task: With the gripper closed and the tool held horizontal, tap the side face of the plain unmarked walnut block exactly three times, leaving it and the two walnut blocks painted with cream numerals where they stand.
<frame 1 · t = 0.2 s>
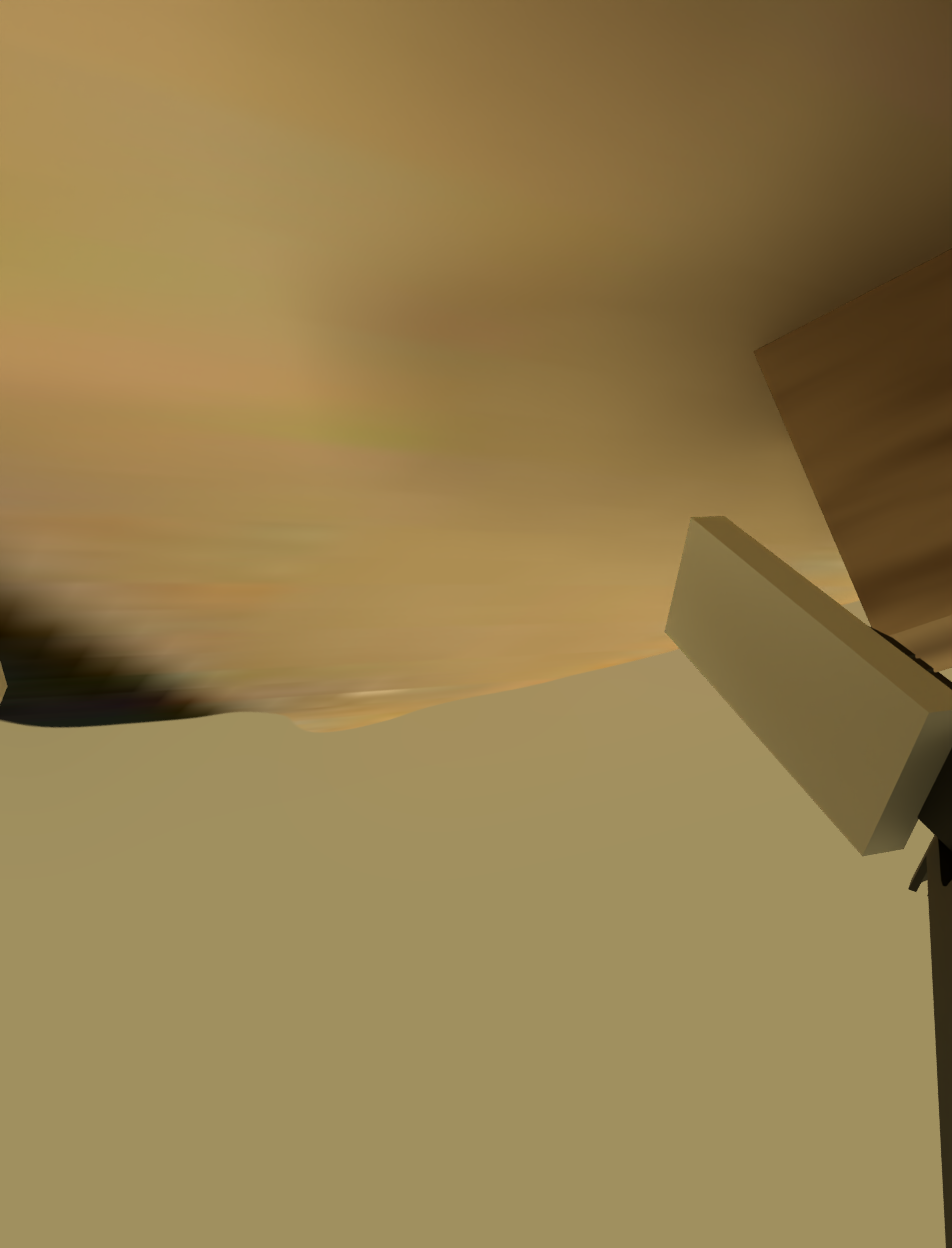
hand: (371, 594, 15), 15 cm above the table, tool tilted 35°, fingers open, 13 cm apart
plain block: (871, 353, 36), on the table
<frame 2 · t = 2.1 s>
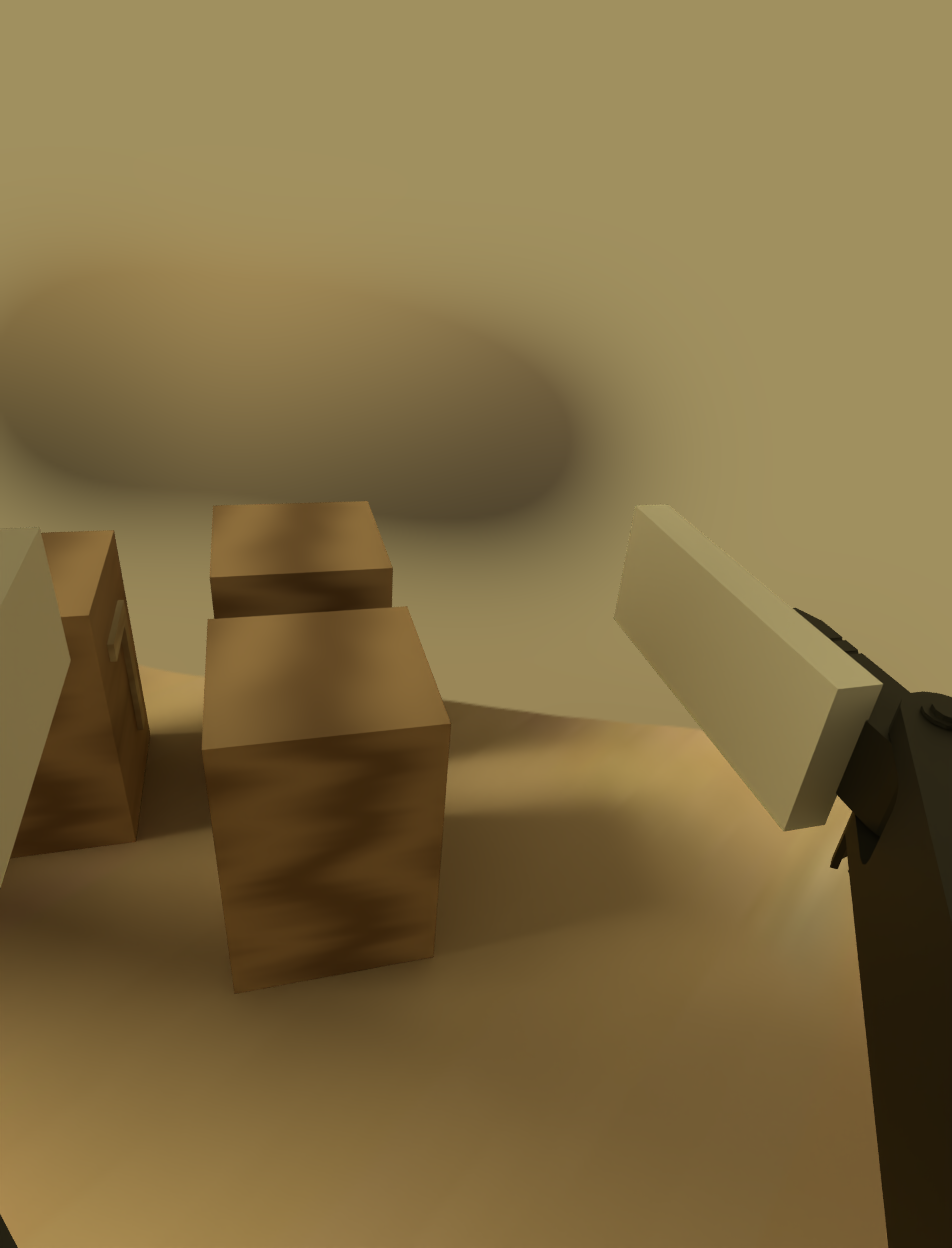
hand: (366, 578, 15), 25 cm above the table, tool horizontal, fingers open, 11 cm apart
block one: (306, 734, 50), on the table
plain block: (327, 896, 39), on the table
block seven: (57, 793, 44), on the table
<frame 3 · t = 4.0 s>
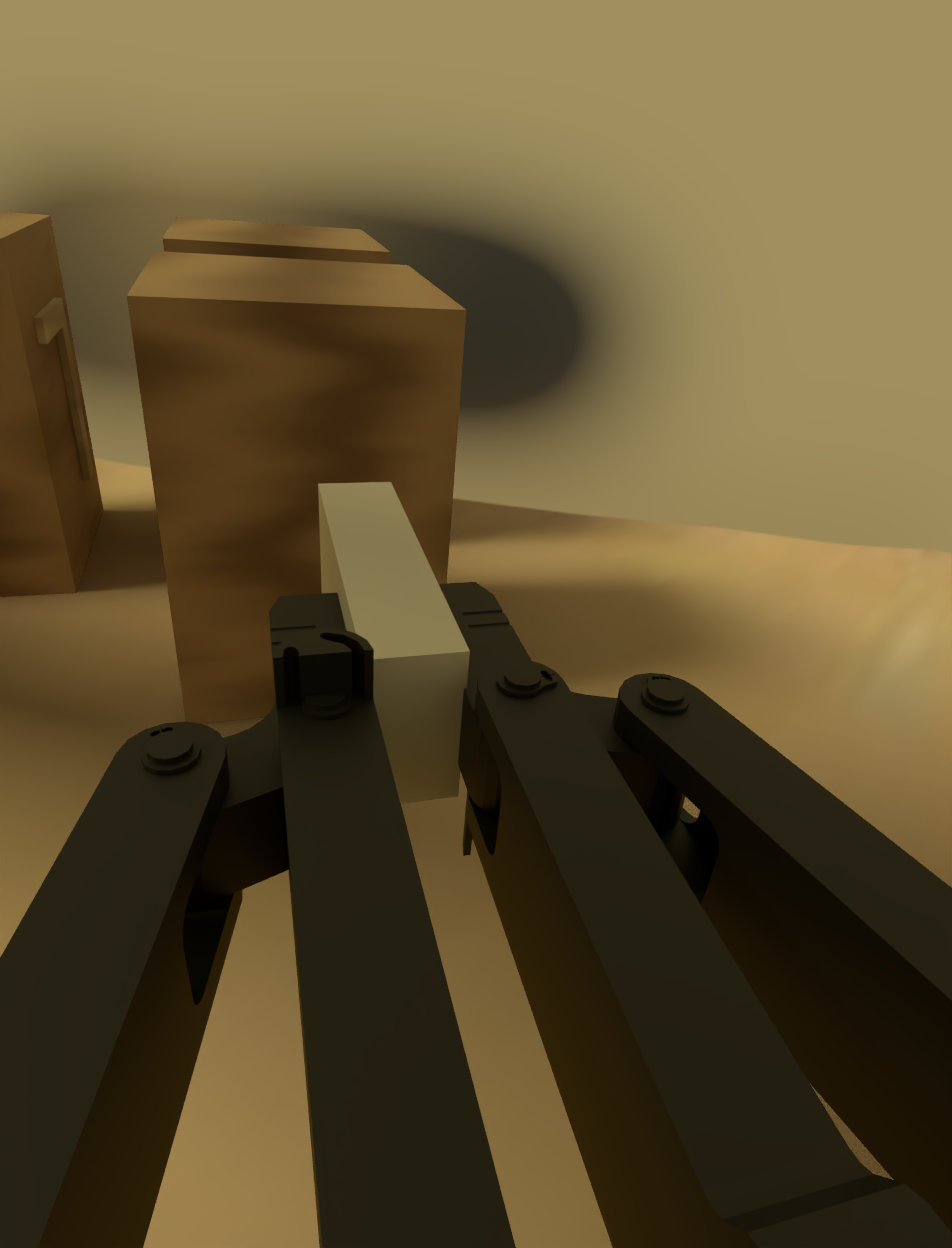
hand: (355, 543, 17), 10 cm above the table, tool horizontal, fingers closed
block one: (288, 517, 43), on the table
plain block: (307, 645, 32), on the table
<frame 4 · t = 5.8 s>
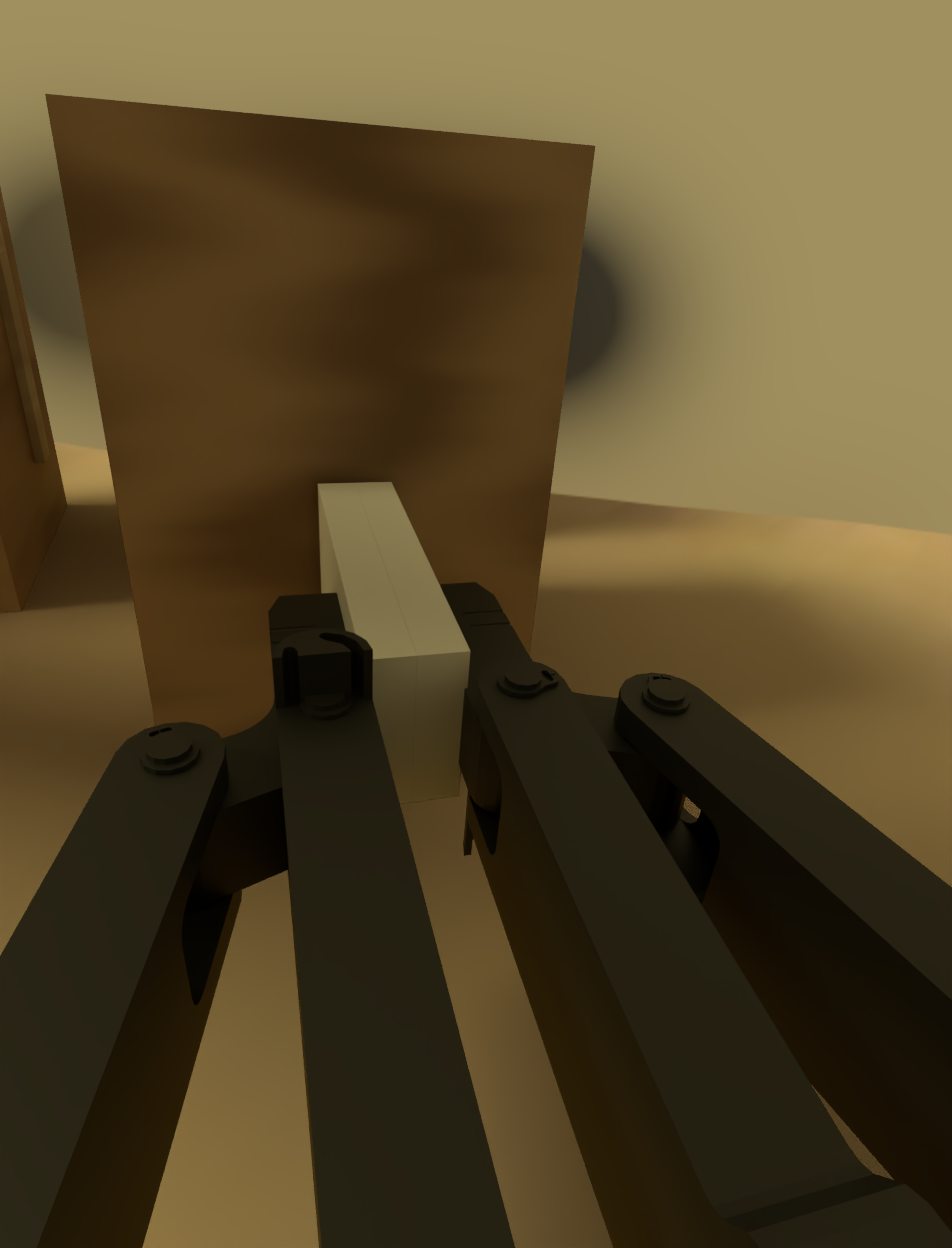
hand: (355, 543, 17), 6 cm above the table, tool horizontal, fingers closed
plain block: (332, 668, 24), on the table, touching gripper
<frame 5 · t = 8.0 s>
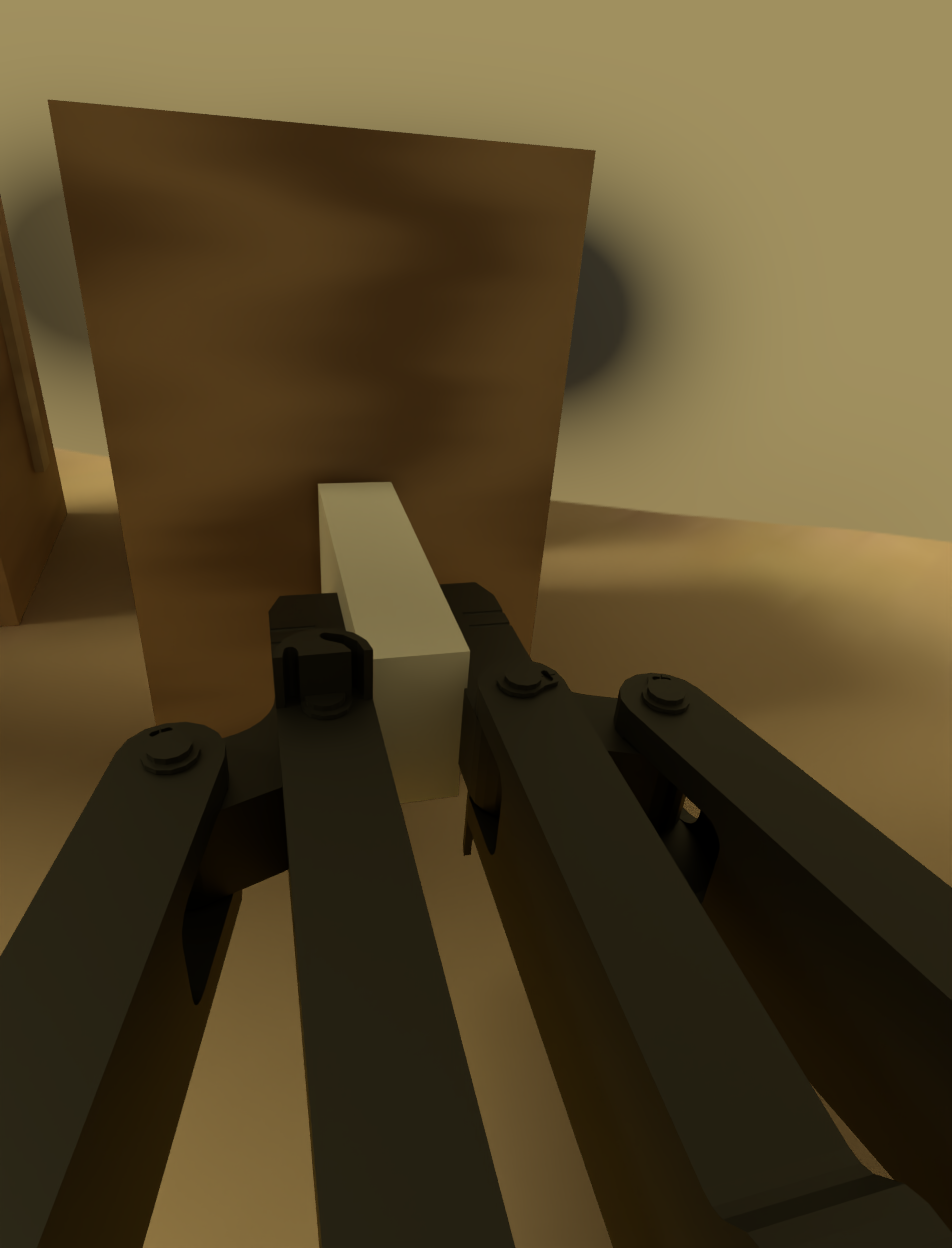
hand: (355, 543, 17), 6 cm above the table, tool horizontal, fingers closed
plain block: (333, 670, 24), on the table, touching gripper
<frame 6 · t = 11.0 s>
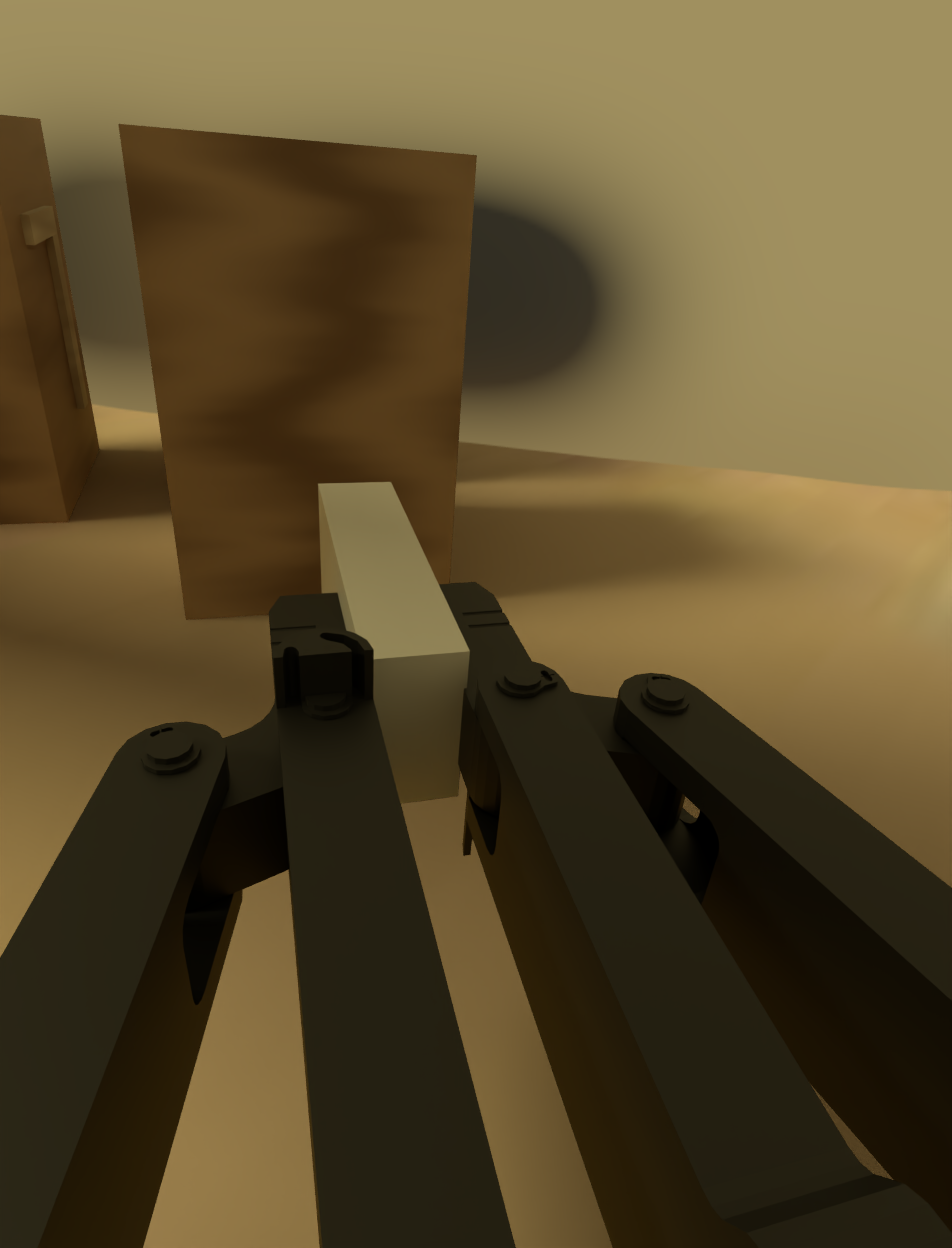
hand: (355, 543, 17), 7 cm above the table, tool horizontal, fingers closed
plain block: (312, 554, 31), on the table
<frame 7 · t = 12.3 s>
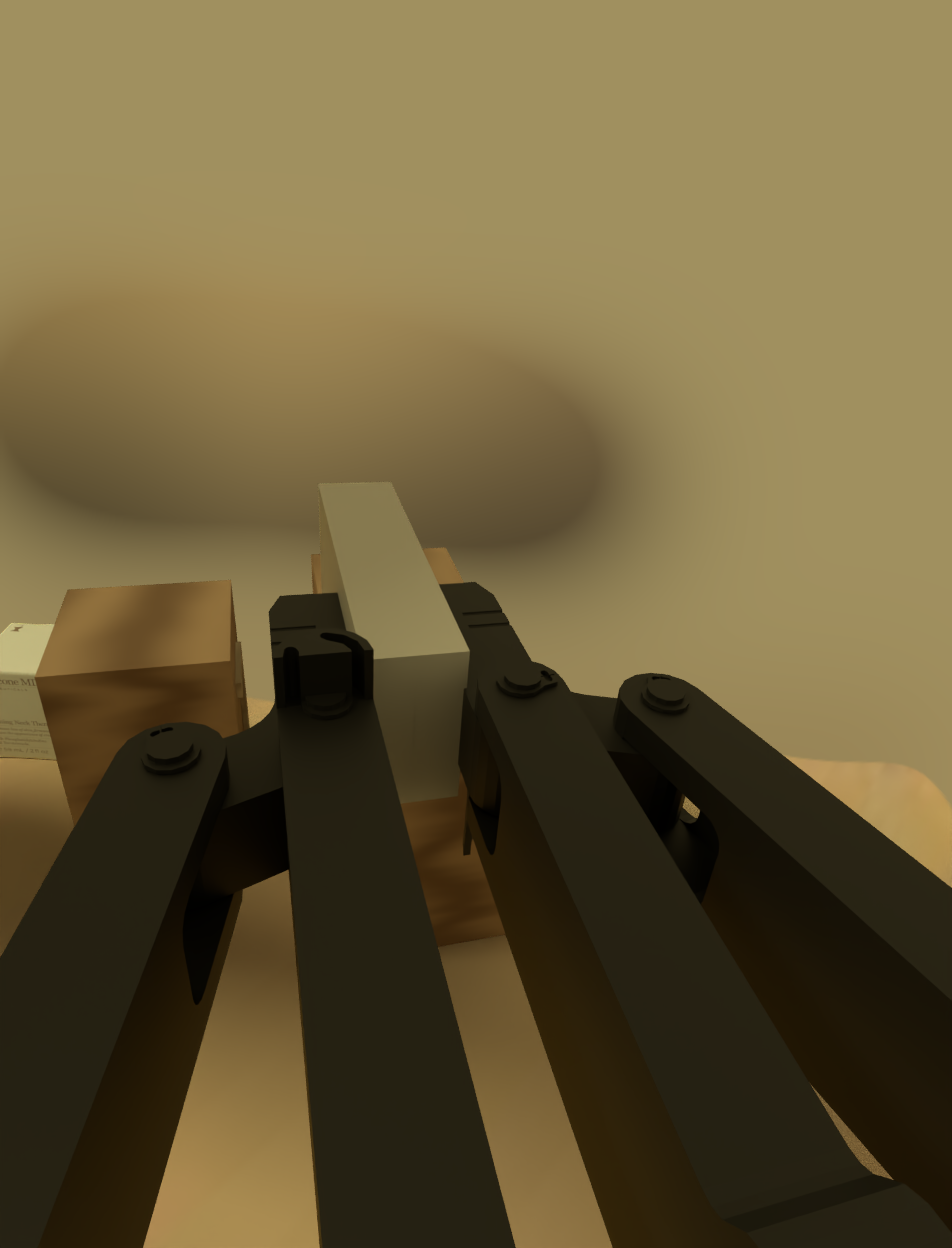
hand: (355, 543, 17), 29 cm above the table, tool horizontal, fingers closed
block one: (388, 756, 55), on the table
plain block: (420, 882, 46), on the table
block seven: (177, 813, 49), on the table
product box: (57, 735, 55), on the table
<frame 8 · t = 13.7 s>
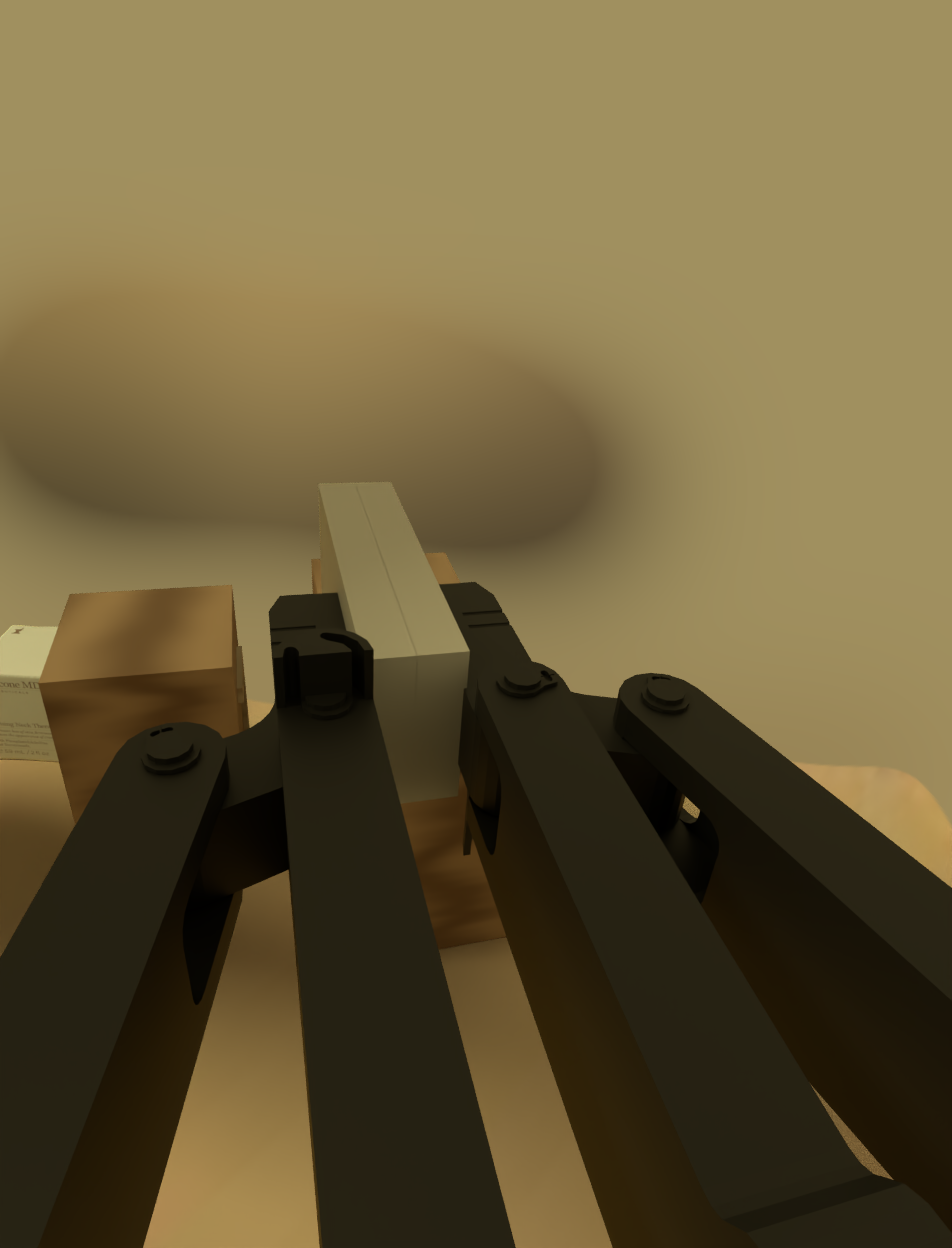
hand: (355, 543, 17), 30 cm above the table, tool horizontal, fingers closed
block one: (387, 759, 56), on the table
plain block: (418, 885, 46), on the table
block seven: (177, 815, 50), on the table
product box: (57, 736, 56), on the table
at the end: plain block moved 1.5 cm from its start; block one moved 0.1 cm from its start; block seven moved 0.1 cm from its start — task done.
